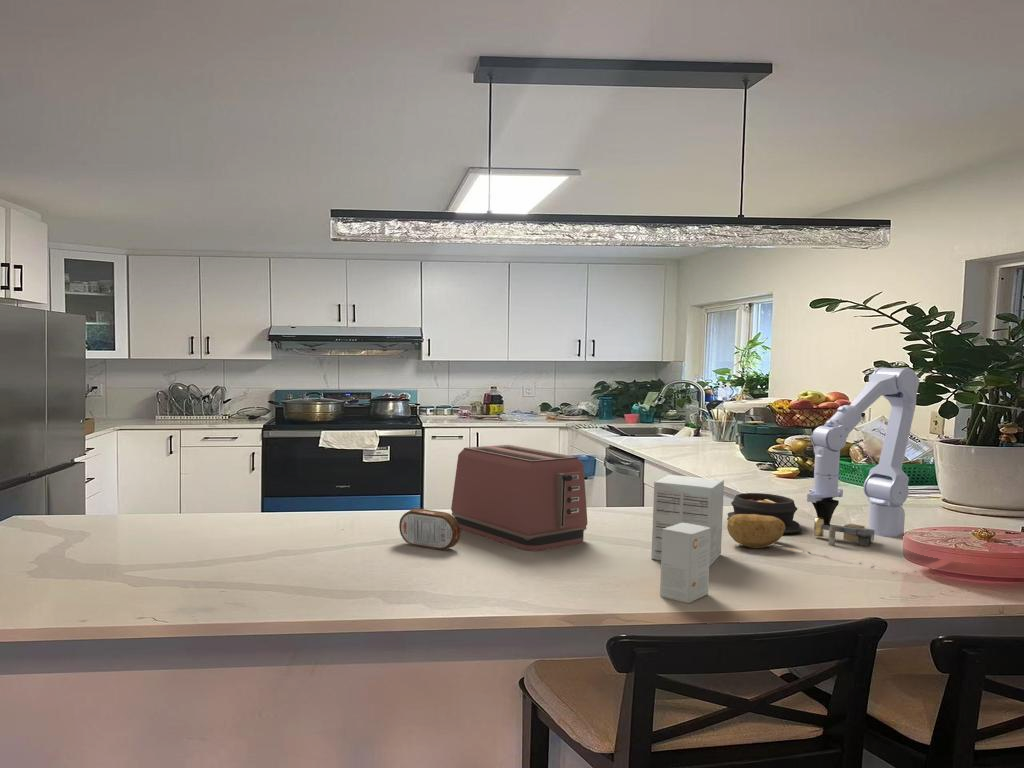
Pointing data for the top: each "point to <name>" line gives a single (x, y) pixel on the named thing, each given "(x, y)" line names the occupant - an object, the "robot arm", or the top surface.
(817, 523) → the lever
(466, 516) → the toaster
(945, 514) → the top surface
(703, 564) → the small box
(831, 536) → the press base
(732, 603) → the top surface
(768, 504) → the casserole
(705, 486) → the supplement box
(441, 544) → the tin
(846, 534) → the nut block
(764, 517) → the potato
